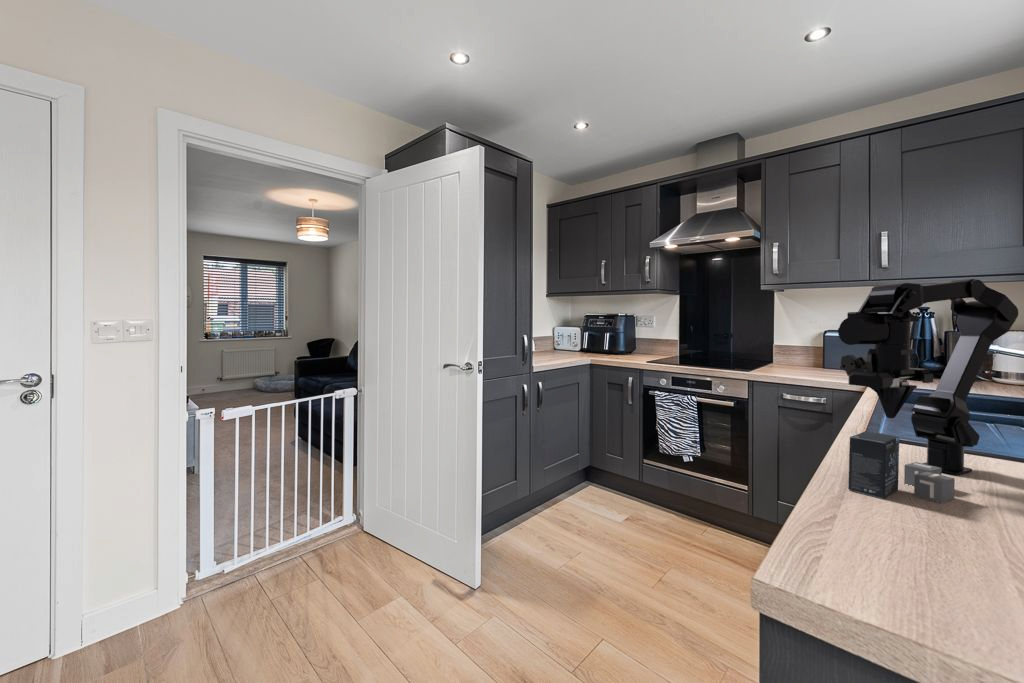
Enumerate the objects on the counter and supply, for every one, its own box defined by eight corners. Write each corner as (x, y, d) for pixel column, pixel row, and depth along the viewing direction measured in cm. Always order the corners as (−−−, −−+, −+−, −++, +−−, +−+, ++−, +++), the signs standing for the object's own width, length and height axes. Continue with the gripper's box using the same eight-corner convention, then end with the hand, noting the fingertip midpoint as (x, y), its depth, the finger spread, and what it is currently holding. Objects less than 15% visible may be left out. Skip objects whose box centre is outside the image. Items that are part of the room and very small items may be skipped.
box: (884, 500, 80) (885, 442, 79) (847, 490, 84) (848, 436, 84) (899, 490, 84) (900, 435, 84) (863, 482, 89) (864, 430, 88)
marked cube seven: (926, 492, 83) (927, 470, 83) (954, 500, 79) (954, 477, 79) (913, 496, 82) (913, 473, 81) (941, 503, 78) (941, 480, 78)
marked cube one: (915, 481, 89) (916, 461, 89) (941, 488, 85) (941, 466, 85) (903, 484, 87) (903, 463, 87) (929, 491, 83) (929, 469, 83)
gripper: (875, 341, 103) (874, 407, 103) (822, 344, 96) (821, 415, 96) (935, 343, 92) (933, 416, 93) (881, 346, 85) (880, 425, 86)
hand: (890, 417), depth 92 cm, fingers closed
